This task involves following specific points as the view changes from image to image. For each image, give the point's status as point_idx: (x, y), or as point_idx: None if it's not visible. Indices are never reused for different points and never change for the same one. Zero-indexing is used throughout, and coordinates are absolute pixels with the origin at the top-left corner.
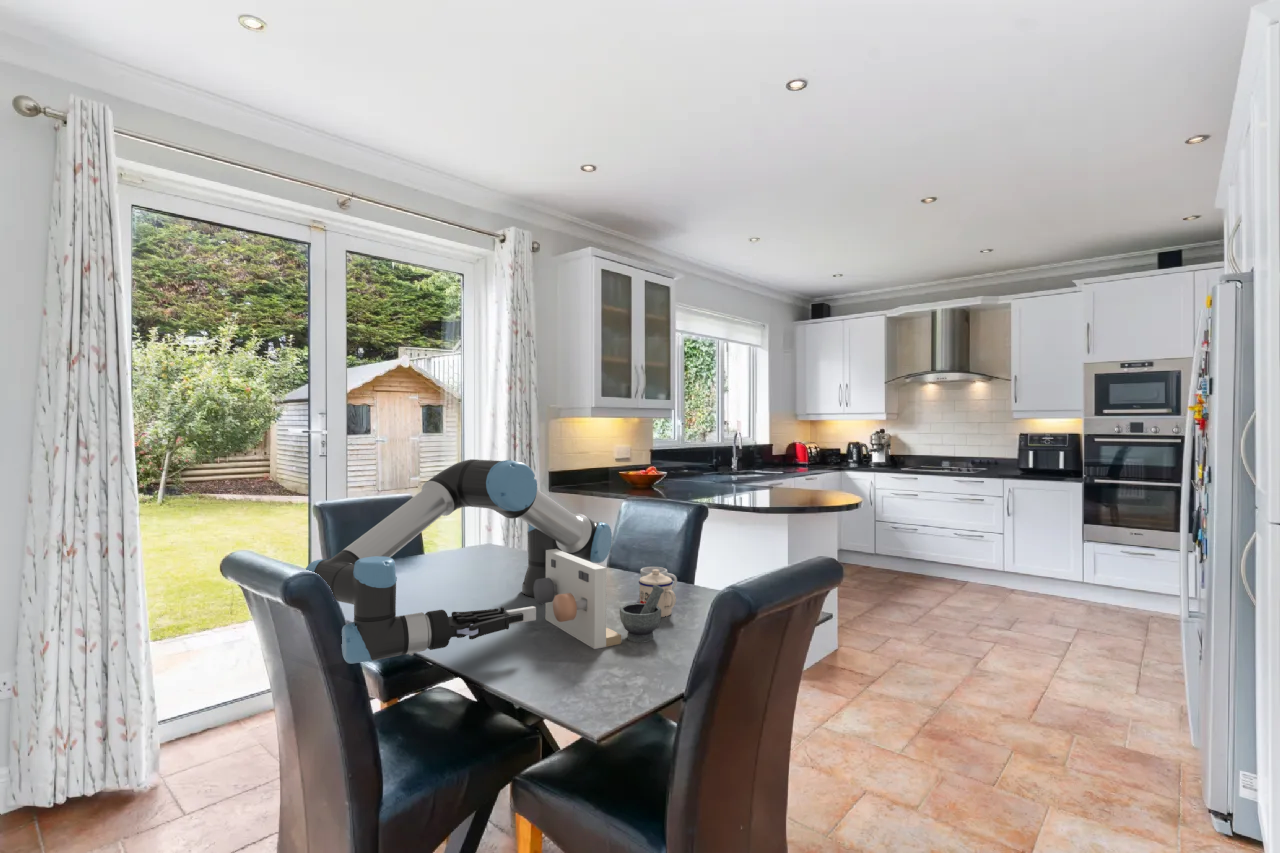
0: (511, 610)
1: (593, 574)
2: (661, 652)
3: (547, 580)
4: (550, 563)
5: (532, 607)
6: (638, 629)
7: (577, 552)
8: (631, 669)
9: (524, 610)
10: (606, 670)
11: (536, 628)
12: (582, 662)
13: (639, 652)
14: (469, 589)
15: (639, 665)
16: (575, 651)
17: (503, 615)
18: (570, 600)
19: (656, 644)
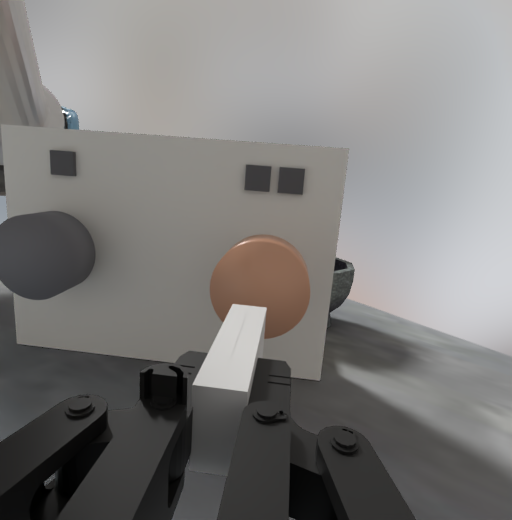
0: (223, 366)
1: (337, 166)
2: (402, 335)
3: (62, 217)
4: (38, 166)
5: (253, 310)
6: (337, 302)
7: None
8: (504, 399)
9: (260, 338)
10: (506, 435)
11: (36, 381)
12: (414, 442)
13: (387, 349)
14: None
15: (476, 380)
16: (307, 411)
17: (289, 441)
18: (299, 255)
19: (354, 323)
